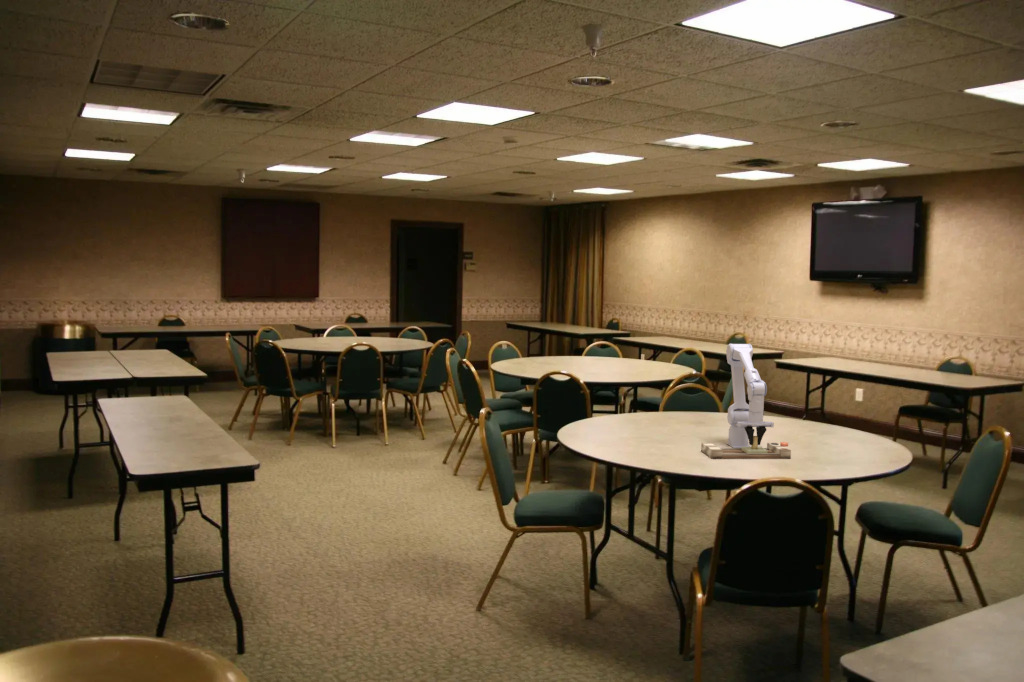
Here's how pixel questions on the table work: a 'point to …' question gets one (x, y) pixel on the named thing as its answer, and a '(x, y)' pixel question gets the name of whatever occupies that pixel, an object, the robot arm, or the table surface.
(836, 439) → the table surface
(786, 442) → the button
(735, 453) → the rail
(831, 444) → the table surface
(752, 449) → the carriage
